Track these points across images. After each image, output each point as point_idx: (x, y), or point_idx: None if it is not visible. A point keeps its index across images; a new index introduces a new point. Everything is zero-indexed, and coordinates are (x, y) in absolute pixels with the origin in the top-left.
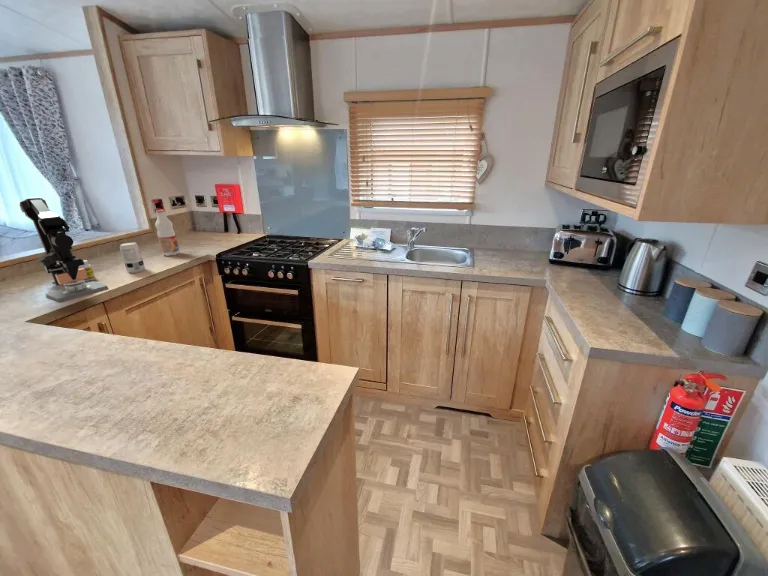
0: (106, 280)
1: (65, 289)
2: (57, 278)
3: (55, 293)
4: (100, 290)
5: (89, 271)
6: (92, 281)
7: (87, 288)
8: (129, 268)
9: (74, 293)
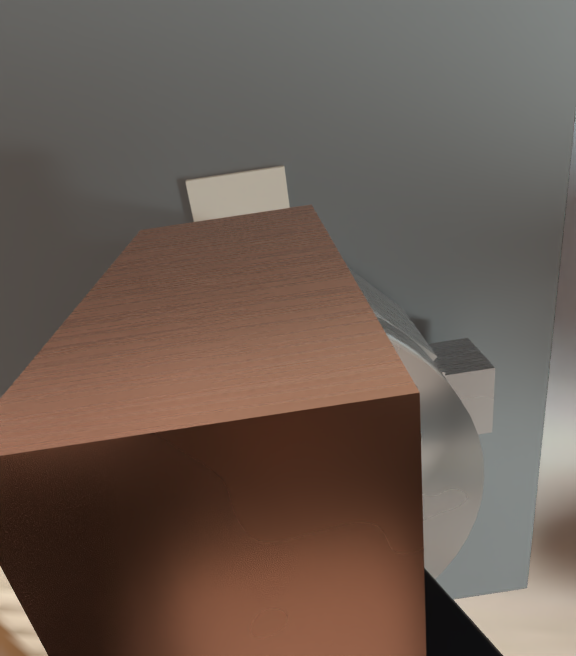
0: (516, 644)
1: (476, 256)
2: (185, 298)
3: (366, 55)
4: None
5: None
6: (522, 580)
7: None
8: None
9: (13, 309)
